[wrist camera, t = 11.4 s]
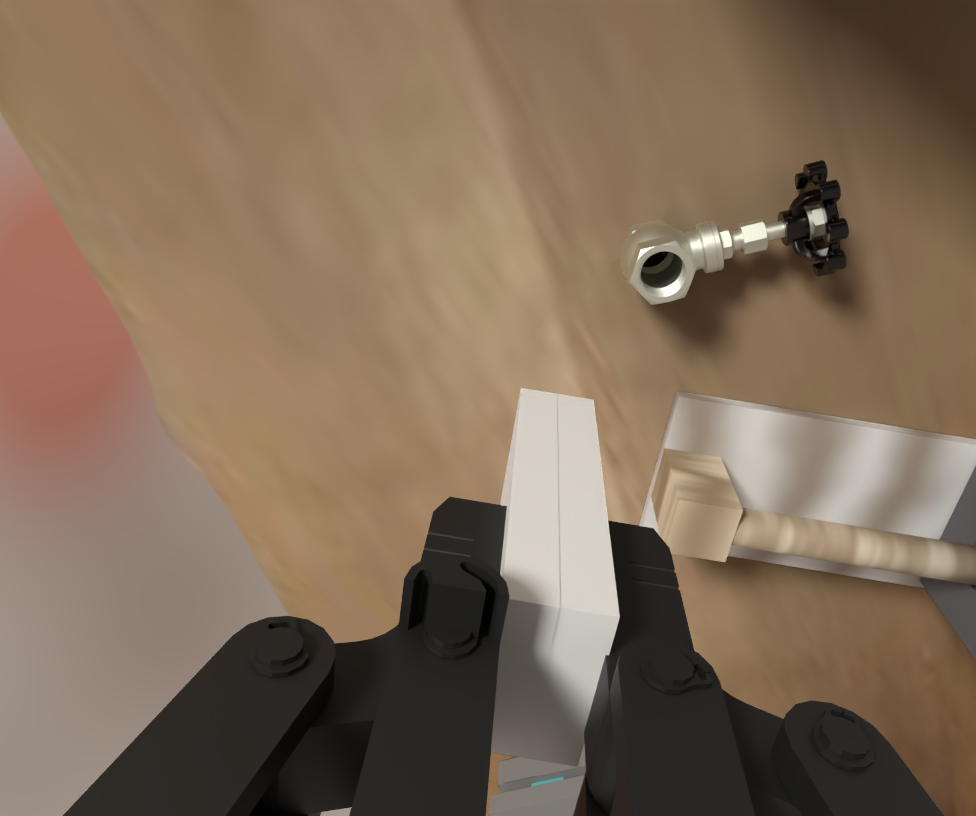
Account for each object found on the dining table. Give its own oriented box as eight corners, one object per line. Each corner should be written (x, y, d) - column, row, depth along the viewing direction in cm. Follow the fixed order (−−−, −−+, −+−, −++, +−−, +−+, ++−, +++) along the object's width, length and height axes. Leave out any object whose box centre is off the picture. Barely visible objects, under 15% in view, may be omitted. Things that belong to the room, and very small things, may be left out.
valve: (626, 303, 50) (815, 258, 48) (636, 336, 44) (853, 288, 42) (606, 204, 47) (805, 152, 45) (614, 225, 41) (844, 167, 39)
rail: (636, 533, 57) (649, 601, 50) (676, 390, 52) (696, 443, 45) (1056, 602, 57) (1128, 680, 50) (1138, 465, 52) (1231, 531, 45)
